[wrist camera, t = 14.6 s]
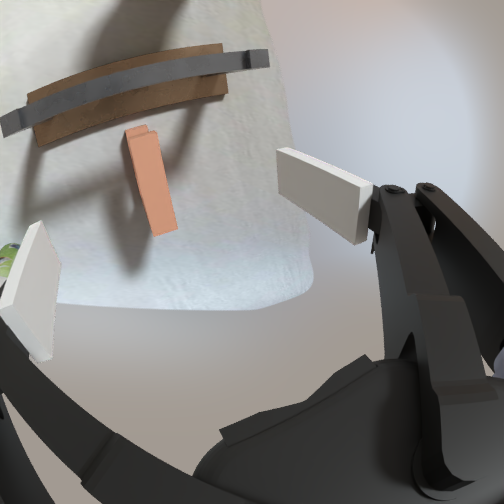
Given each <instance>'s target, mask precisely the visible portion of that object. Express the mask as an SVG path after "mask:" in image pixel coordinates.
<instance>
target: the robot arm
mask: <svg viewBox="0 0 504 504" xmlns="http://www.w3.org/2000/svg"><path fill="white" fill-rule="evenodd" d="M276 156H277V173H278V191H279V194H280V195H282V196H283V197H285V198H286V199H288V200H289V201H291V202H293V203H294V204H296V205H297V206H298V207H300V208H301V209H303V210H304V211H306V212H307V213H309V214H310V215H312V216H313V217H315V218H316V219H318V220H319V221H321V222H322V223H323V224H325V225H326V226H328V227H329V228H331V229H332V230H333V231H335V232H336V233H338V234H339V235H341V236H342V237H343V238H345V239H346V240H348V241H349V242H350V243H352V244H353V245H357V244H359V243H362V242H364V241H366V240H367V234H368V228H369V229H371V230H372V231H374V236H373V243H372V249H371V254H373V252H374V251H375V255H376V263H377V270H378V278H379V287H380V297H381V307H382V319H383V331H384V348H385V349H384V350H385V358H384V360H379V361H374V362H372V361H371V360H370V359H369V358H368V357H367V356H366V355H365V354H364V355H363V356H361V357H360V358H358V359H356V360H355V361H353V362H352V363H350V364H348V365H347V366H345V367H343V368H342V369H340V370H338V371H337V372H335V373H334V374H333V375H332V376H331V377H330V378H329V379H328V380H327V381H326V382H325V383H324V384H323V385H322V386H321V387H320V388H319V389H318V390H317V391H316V392H315V393H314V394H312V395H311V396H310V397H309V398H308V399H307V400H305V401H303V402H300V403H297V404H293V405H289V406H285V407H281V408H277V409H272V410H268V411H263V412H259V413H257V414H254V415H252V416H250V417H248V418H245V419H243V420H241V421H238V422H236V423H234V424H231V425H229V426H227V427H224V428H222V429H219V431H220V433H221V435H222V437H223V440H221V441H220V442H219V443H217V444H216V445H215V446H214V447H213V448H212V449H210V450H209V451H208V452H207V453H206V455H205V456H204V457H203V458H202V459H201V461H200V462H199V464H198V466H197V467H196V469H195V471H194V473H193V476H190V475H188V474H186V473H184V472H182V471H180V470H178V469H176V468H174V467H173V466H171V465H169V464H167V463H165V462H164V461H162V460H160V459H158V458H157V457H155V456H153V455H151V454H150V453H148V452H146V451H145V450H143V449H141V448H140V447H138V446H137V445H135V444H133V443H132V442H130V441H129V440H127V439H126V438H124V437H123V436H121V435H120V434H118V433H115V432H113V431H112V430H110V429H109V428H108V427H106V426H105V425H104V424H102V423H101V422H99V421H98V420H97V419H95V418H94V417H93V416H92V415H90V414H89V413H88V412H86V411H85V410H84V409H83V408H82V407H80V406H79V405H78V404H77V403H75V402H74V401H73V400H72V399H71V398H70V397H68V396H67V395H66V394H65V393H63V391H62V390H60V389H59V388H58V387H57V386H56V385H55V384H54V383H53V382H52V381H51V380H50V379H48V378H47V377H46V376H45V375H44V374H43V373H42V372H41V371H40V370H39V369H38V368H37V367H36V366H35V365H34V364H33V363H32V362H31V361H30V360H29V354H30V355H31V356H32V357H33V359H34V360H35V361H36V362H37V363H41V362H44V361H47V360H50V359H52V358H53V337H54V322H55V311H56V301H57V293H58V285H59V278H60V271H61V265H62V264H61V262H60V260H59V258H58V256H57V254H56V252H55V250H54V247H53V245H52V243H51V241H50V238H49V236H48V234H47V231H46V229H45V227H44V224H43V222H42V220H41V221H38V222H36V223H34V224H31V225H30V226H29V228H28V230H27V232H26V234H25V237H24V239H23V241H22V243H21V246H20V248H19V250H18V253H17V255H16V258H15V260H14V262H13V265H12V268H11V270H10V273H9V276H8V278H7V280H5V282H4V283H3V284H2V286H1V287H0V504H55V503H54V501H53V500H52V498H51V496H50V495H49V493H48V492H47V490H46V489H45V487H44V485H43V483H42V482H41V480H40V478H39V477H38V475H37V473H36V471H35V469H34V468H33V466H32V464H31V462H30V460H29V458H28V456H27V454H26V452H25V450H24V448H23V446H22V444H21V442H20V439H19V437H18V435H17V433H16V430H15V428H14V426H13V423H12V421H11V418H10V416H9V413H8V411H7V408H6V405H5V403H4V400H3V397H2V393H4V394H5V395H6V396H7V398H8V399H9V401H10V402H11V403H12V405H13V406H14V407H15V409H16V410H17V411H18V413H19V414H20V415H21V416H22V417H23V419H24V420H25V421H26V423H27V424H28V425H29V426H30V427H31V428H32V430H33V431H34V432H35V433H36V434H37V435H38V437H39V438H40V439H41V440H42V441H43V442H44V443H45V444H46V445H47V446H48V447H49V449H51V451H52V452H54V454H55V455H56V456H57V457H58V458H59V459H60V460H61V461H62V462H63V463H64V464H65V465H67V467H69V468H70V469H71V470H72V471H73V472H74V473H75V474H76V475H77V476H78V477H79V478H80V479H81V480H82V482H81V485H82V486H83V487H84V488H85V489H86V490H87V491H88V492H89V493H90V494H91V495H92V496H93V497H95V498H96V499H97V500H98V501H100V502H101V503H102V504H504V251H503V250H502V249H501V248H500V247H499V245H498V244H497V243H496V242H495V241H494V240H493V239H492V238H491V237H490V236H489V235H488V234H487V233H486V232H485V231H484V230H483V229H482V228H481V227H480V226H479V225H478V224H477V223H476V222H475V221H474V220H473V219H472V218H471V217H470V216H469V215H468V214H467V213H466V212H465V211H464V210H463V209H462V208H461V207H460V206H459V205H458V204H457V203H455V202H454V201H453V200H452V199H451V198H450V197H449V196H448V195H447V194H445V193H444V192H443V191H442V190H441V189H440V188H438V187H437V186H434V185H433V184H431V183H418V184H417V185H416V191H415V193H411V194H408V193H407V191H406V190H405V189H404V188H401V187H398V186H396V185H383V186H381V187H380V188H379V187H377V186H375V185H373V184H372V183H370V182H368V181H366V180H364V179H362V178H359V177H357V176H355V175H353V174H351V173H349V172H346V171H344V170H342V169H339V168H337V167H335V166H333V165H330V164H328V163H325V162H323V161H321V160H319V159H316V158H313V157H311V156H309V155H306V154H304V153H301V152H299V151H296V150H294V149H291V148H288V147H286V148H281V149H276ZM435 221H436V227H435V230H434V225H435ZM481 355H482V357H483V358H484V360H485V361H486V363H487V364H488V366H489V367H490V368H491V369H492V371H493V372H494V375H493V376H492V377H491V376H486V374H485V370H484V365H483V361H482V357H481Z"/></svg>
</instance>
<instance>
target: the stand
mask: <svg viewBox="0 0 504 504" xmlns="http://www.w3.org/2000/svg"><path fill="white" fill-rule="evenodd" d="M268 67H270V65H269V56H268V49H257V50H247V51H239V52H227V53H223V47H222V43H219V44H209V45H200V46H192V47H185V48H179V49H173V50H167V51H161V52H156V53H151V54H146V55H142V56H137V57H133V58H129V59H125V60H121V61H117V62H114V63H110V64H106V65H103V66H100V67H96V68H93V69H90V70H87V71H84V72H81V73H78V74H75V75H72V76H70V77H67V78H64V79H61V80H59V81H56V82H54V83H51V84H49V85H46V86H44V87H42V88H39V89H37V90H35V91H33V92H30V93H28V94H27V97H28V103H29V105H26V106H24V107H22V108H20V109H16V110H14V111H12V112H10V113H8V114H6V115H4V116H2V117H0V124H1V128H2V133H3V137H4V138H5V137H8V136H10V135H13V134H15V133H18V132H20V131H23V130H26V129H29V128H31V127H34V131H35V135H36V139H37V143H38V147H40V146H43V145H45V144H47V143H50V142H52V141H55V140H57V139H60V138H62V137H65V136H67V135H70V134H72V133H75V132H78V131H80V130H83V129H86V128H89V127H92V126H95V125H98V124H101V123H104V122H107V121H110V120H113V119H116V118H120V117H123V116H126V115H130V114H134V113H137V112H141V111H145V110H148V109H152V108H156V107H160V106H165V105H169V104H173V103H178V102H183V101H188V100H193V99H198V98H203V97H209V96H215V95H221V94H227V93H228V86H227V78H226V74H228V73H234V72H240V71H246V70H253V69H260V68H268Z"/></svg>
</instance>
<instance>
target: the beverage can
mask: <svg viewBox="0 0 504 504" xmlns="http://www.w3.org/2000/svg"><path fill="white" fill-rule="evenodd" d="M20 246H21V245H19V244H15V243H10V244H7V245H5V246H4V247H3V248H2V249H1V250H0V287H1V286H2V284H3V283H4V282H5V280H7V278H8V276H9V273H10V270H11V268H12V265H13V262H14V260H15V258H16V255H17V253H18V250H19V248H20Z"/></svg>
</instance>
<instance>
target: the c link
mask: <svg viewBox="0 0 504 504" xmlns="http://www.w3.org/2000/svg"><path fill="white" fill-rule="evenodd" d="M125 132H126V137H127V142H128V146H129V151H130V155H131V160H132V164H133V168H134V172H135V176H136V180H137V184H138V188H139V192H140V196H141V199H142V203H143V206H144V209H145V212H146V215H147V218H148V221H149V224H150V227H151V230H152V233H153V236H154V237H155V236H158V235H161V234H164V233H167V232H170V231H173V230H176V229H178V226H177V222H176V218H175V214H174V210H173V206H172V201H171V197H170V193H169V188H168V184H167V179H166V175H165V170H164V165H163V160H162V156H161V151H160V146H159V140H158V135H157V132H155V131H154V130H153V131H150V132H148V127H147V125H142V126H138V127H134V128H131V129H127V130H125Z"/></svg>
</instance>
